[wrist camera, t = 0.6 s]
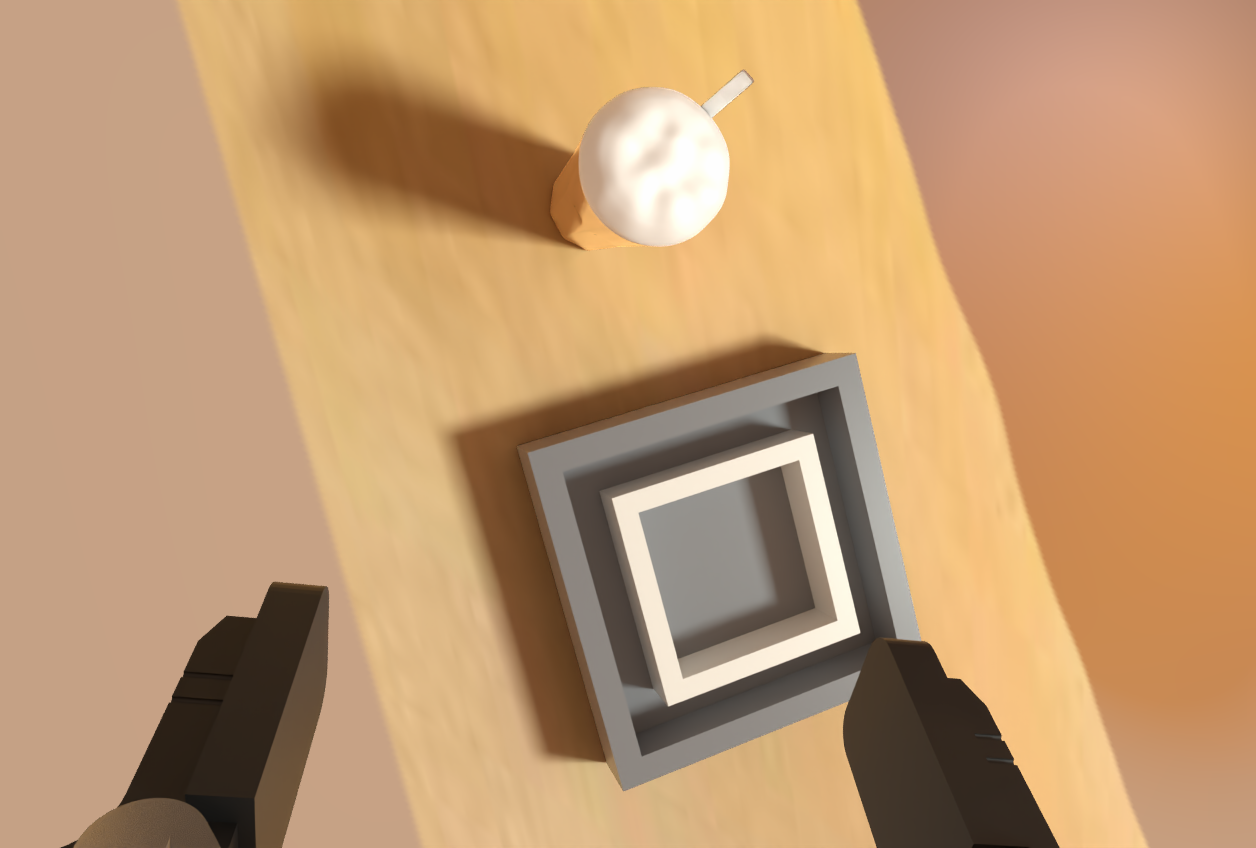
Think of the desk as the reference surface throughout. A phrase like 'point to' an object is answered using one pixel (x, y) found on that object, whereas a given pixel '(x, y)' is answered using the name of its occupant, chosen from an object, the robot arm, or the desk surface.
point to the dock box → (721, 560)
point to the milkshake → (646, 170)
